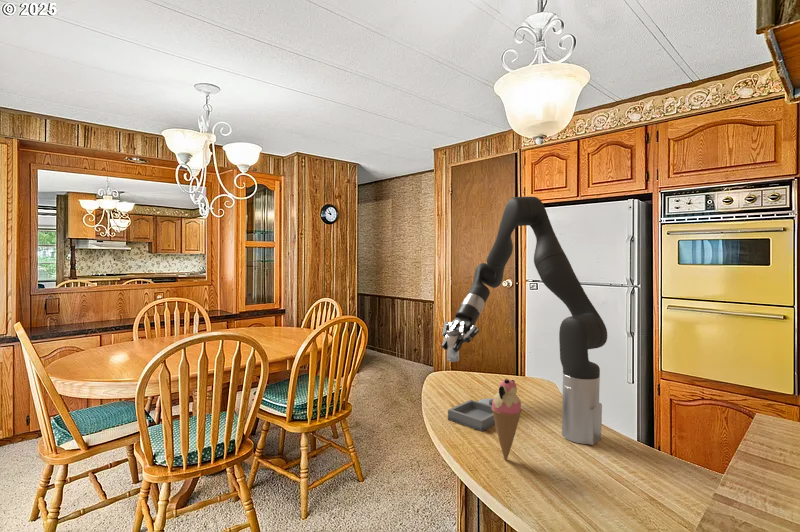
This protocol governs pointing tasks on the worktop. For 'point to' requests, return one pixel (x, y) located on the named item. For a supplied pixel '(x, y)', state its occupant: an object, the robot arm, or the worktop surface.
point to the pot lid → (486, 401)
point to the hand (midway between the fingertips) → (449, 349)
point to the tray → (472, 415)
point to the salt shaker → (451, 340)
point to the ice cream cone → (506, 414)
